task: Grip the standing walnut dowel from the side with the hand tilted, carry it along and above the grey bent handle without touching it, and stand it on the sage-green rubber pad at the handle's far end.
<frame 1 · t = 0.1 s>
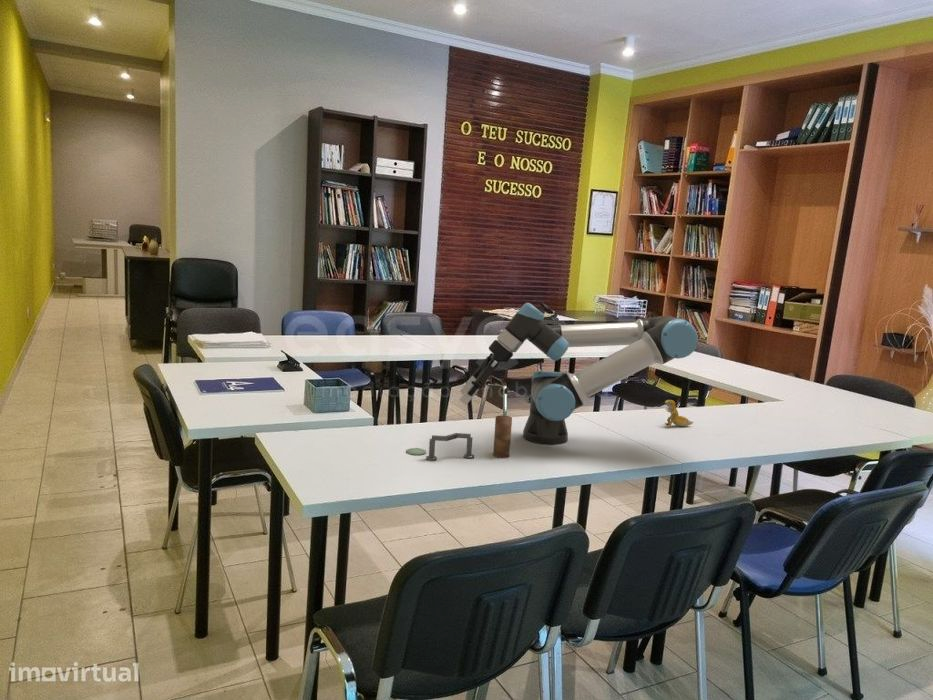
hand: (462, 398, 212), 15 cm above the table, tool tilted 35°, fingers open, 13 cm apart
dowel: (501, 455, 205), on the table
grey bent handle: (450, 458, 200), on the table
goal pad: (416, 452, 204), on the table
toy: (675, 426, 256), on the table
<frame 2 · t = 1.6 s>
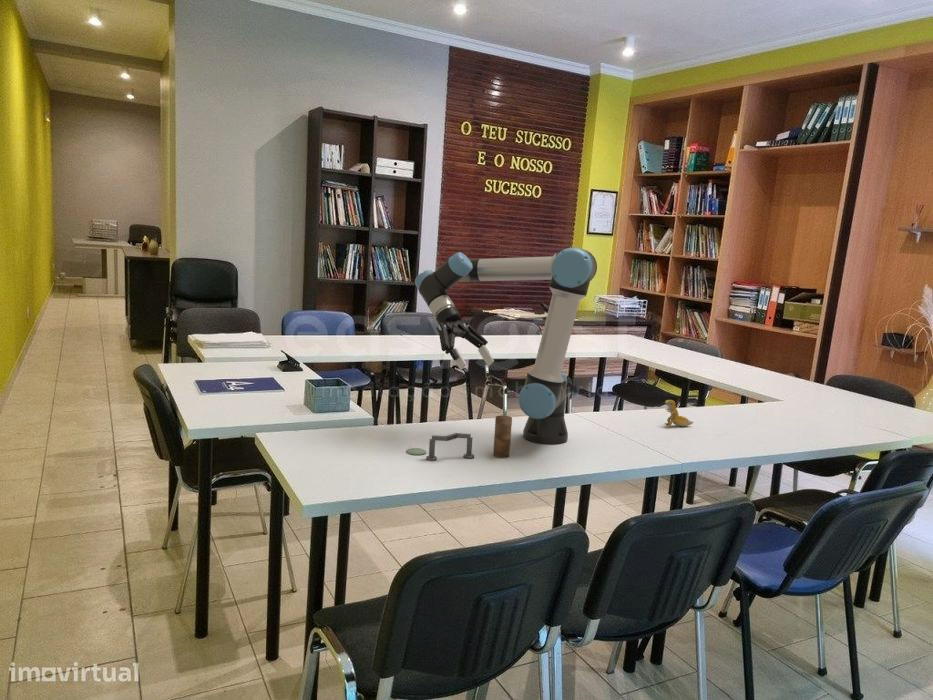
hand: (477, 365, 210), 26 cm above the table, tool tilted 45°, fingers open, 13 cm apart
nothing on the table moved.
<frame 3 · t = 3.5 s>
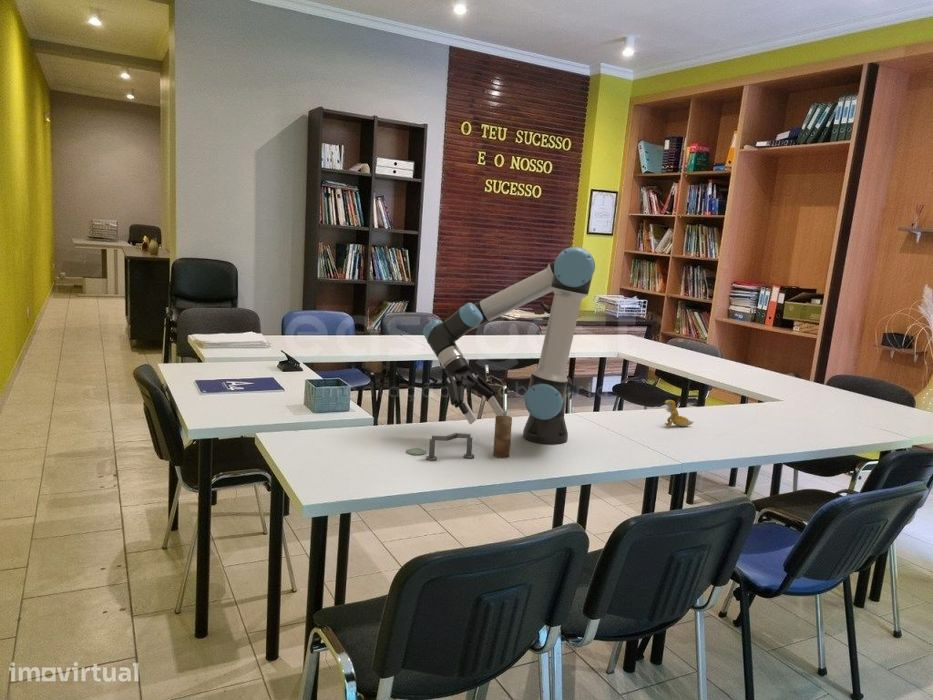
hand: (487, 418, 207), 11 cm above the table, tool tilted 45°, fingers open, 13 cm apart
nothing on the table moved.
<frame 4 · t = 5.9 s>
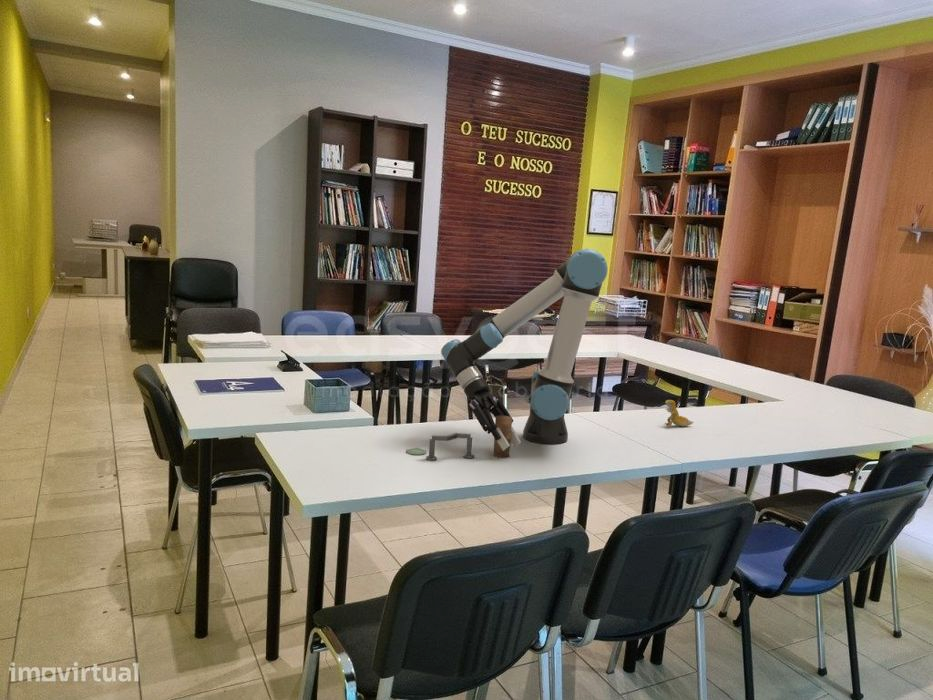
hand: (511, 446, 202), 4 cm above the table, tool tilted 45°, fingers closed on dowel, 5 cm apart
dowel: (501, 455, 205), on the table, touching gripper
everything else where it was.
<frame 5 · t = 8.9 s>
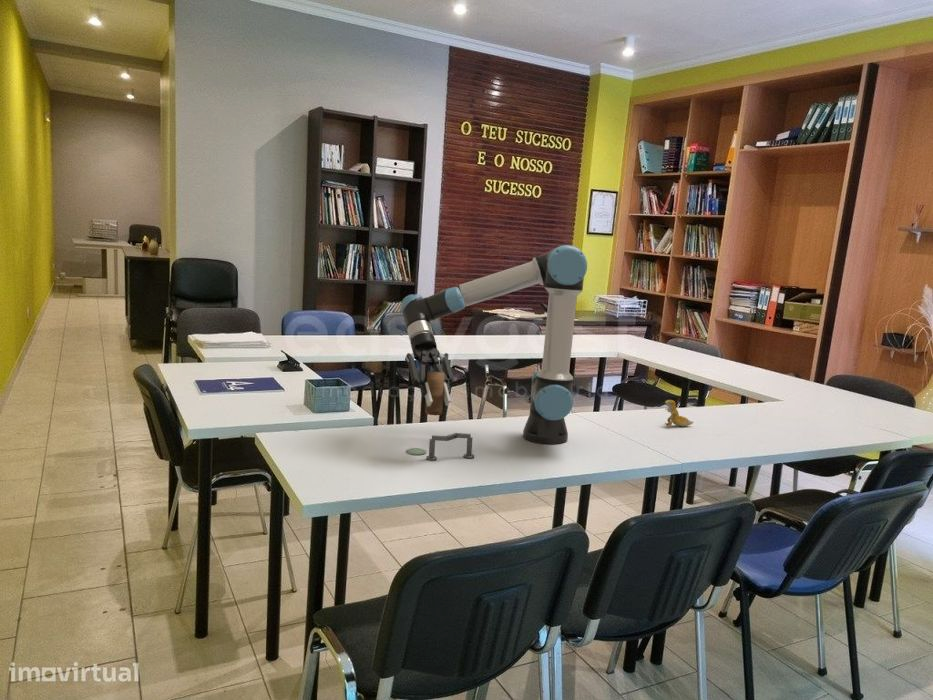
hand: (439, 403, 193), 18 cm above the table, tool tilted 45°, fingers closed on dowel, 5 cm apart
dowel: (433, 413, 196), point 14 cm above the table, touching gripper
everything else where it was.
when the fingers open (5 cm above the table, at t = 11.9 s): dowel drops 1 cm, resting on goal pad.
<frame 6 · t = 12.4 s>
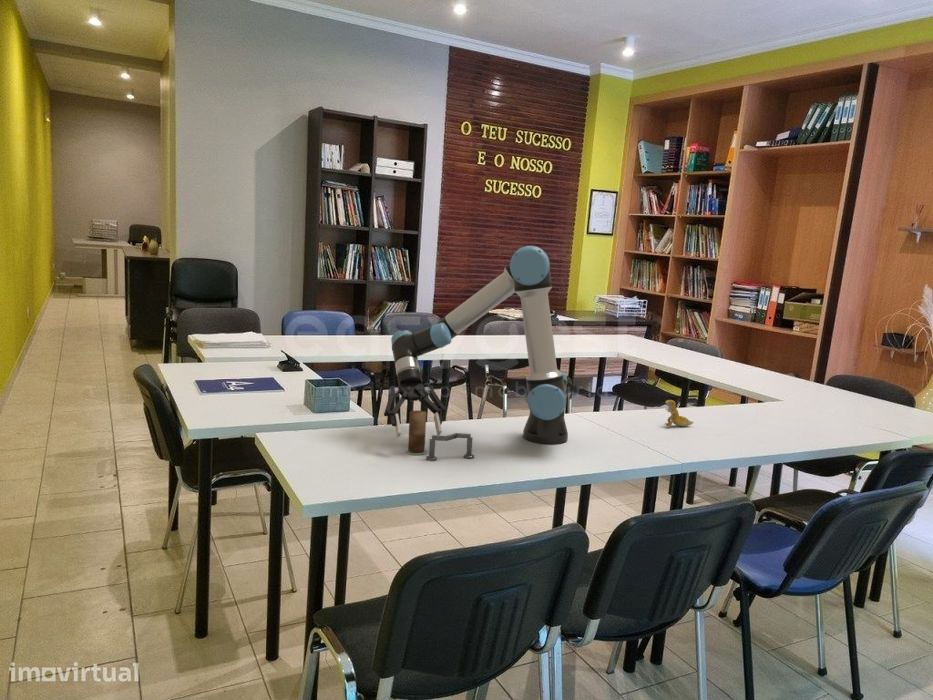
hand: (419, 434, 200), 6 cm above the table, tool tilted 45°, fingers open, 12 cm apart
dowel: (416, 450, 204), resting on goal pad
everything else where it was.
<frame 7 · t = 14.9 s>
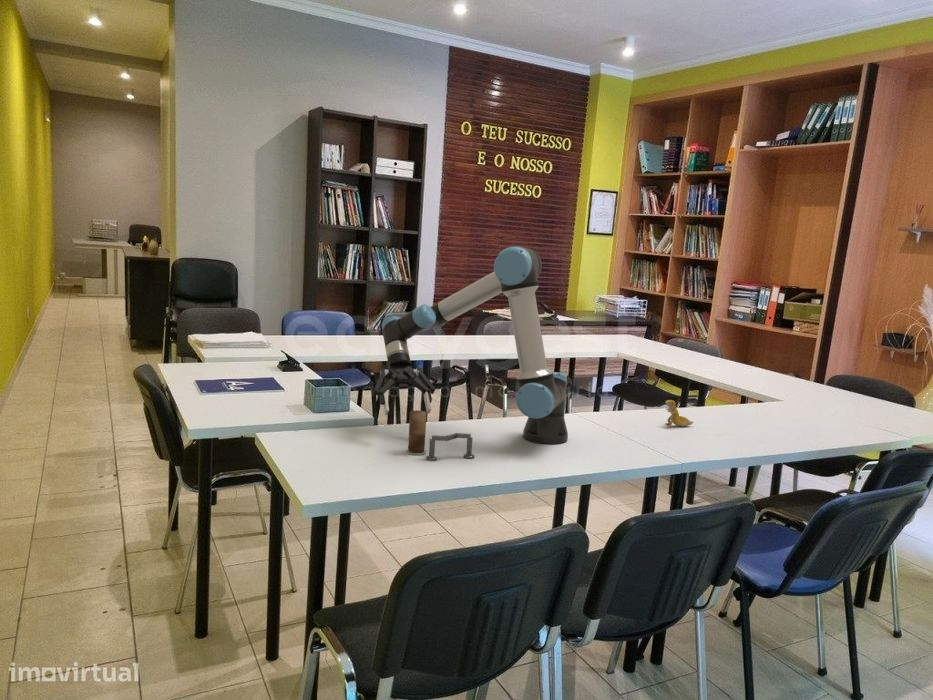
hand: (408, 412, 211), 10 cm above the table, tool tilted 45°, fingers open, 13 cm apart
nothing on the table moved.
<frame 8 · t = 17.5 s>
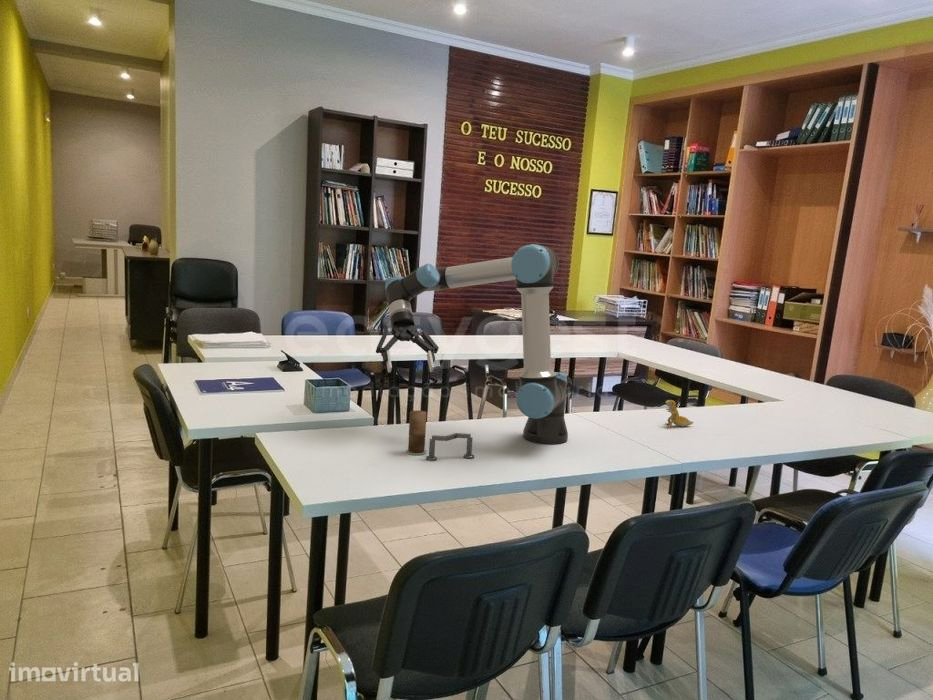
hand: (411, 370, 209), 24 cm above the table, tool tilted 45°, fingers open, 13 cm apart
nothing on the table moved.
at the end: dowel inside the target area on the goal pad (0.1 cm from its centre), point 0.4 cm above the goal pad's base; dowel tilted 0°; dowel touching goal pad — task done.
